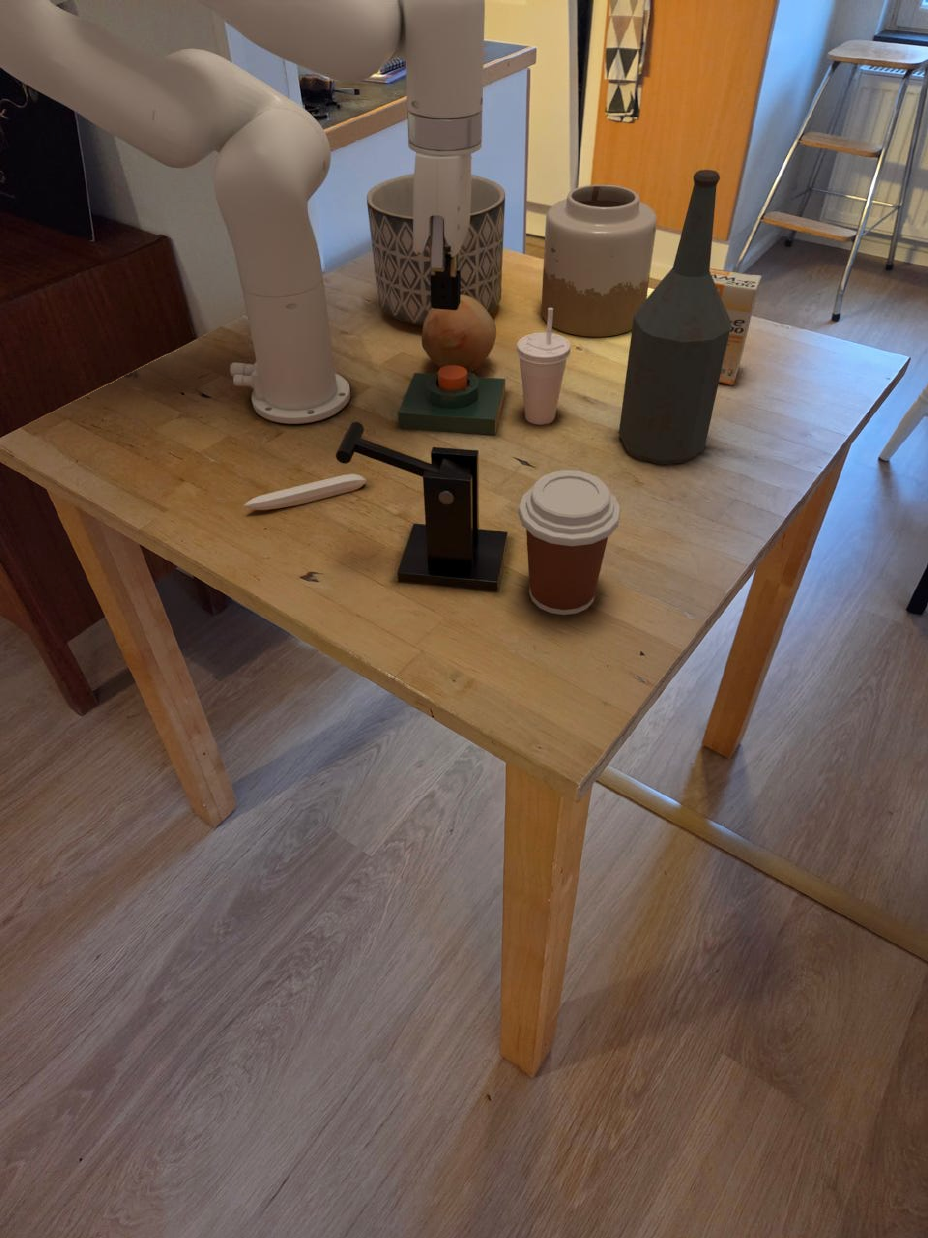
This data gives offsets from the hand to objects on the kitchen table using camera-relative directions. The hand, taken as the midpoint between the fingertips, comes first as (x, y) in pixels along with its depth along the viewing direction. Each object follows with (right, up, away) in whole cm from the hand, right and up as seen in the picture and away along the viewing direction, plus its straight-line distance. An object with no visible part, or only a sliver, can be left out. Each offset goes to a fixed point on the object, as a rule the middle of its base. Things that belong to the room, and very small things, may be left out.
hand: (445, 305), depth 98 cm
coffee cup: (+12, -34, -15) cm, 39 cm away
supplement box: (+35, -4, +15) cm, 38 cm away
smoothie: (+12, -11, +8) cm, 18 cm away
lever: (-4, -22, -18) cm, 29 cm away
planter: (-2, +11, +31) cm, 33 cm away
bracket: (+1, -30, -12) cm, 33 cm away
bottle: (+26, -15, +4) cm, 30 cm away
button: (+1, -7, +7) cm, 10 cm away
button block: (+1, -10, +9) cm, 14 cm away
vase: (+21, +9, +29) cm, 37 cm away
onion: (+2, -2, +17) cm, 18 cm away
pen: (-15, -23, -4) cm, 28 cm away
